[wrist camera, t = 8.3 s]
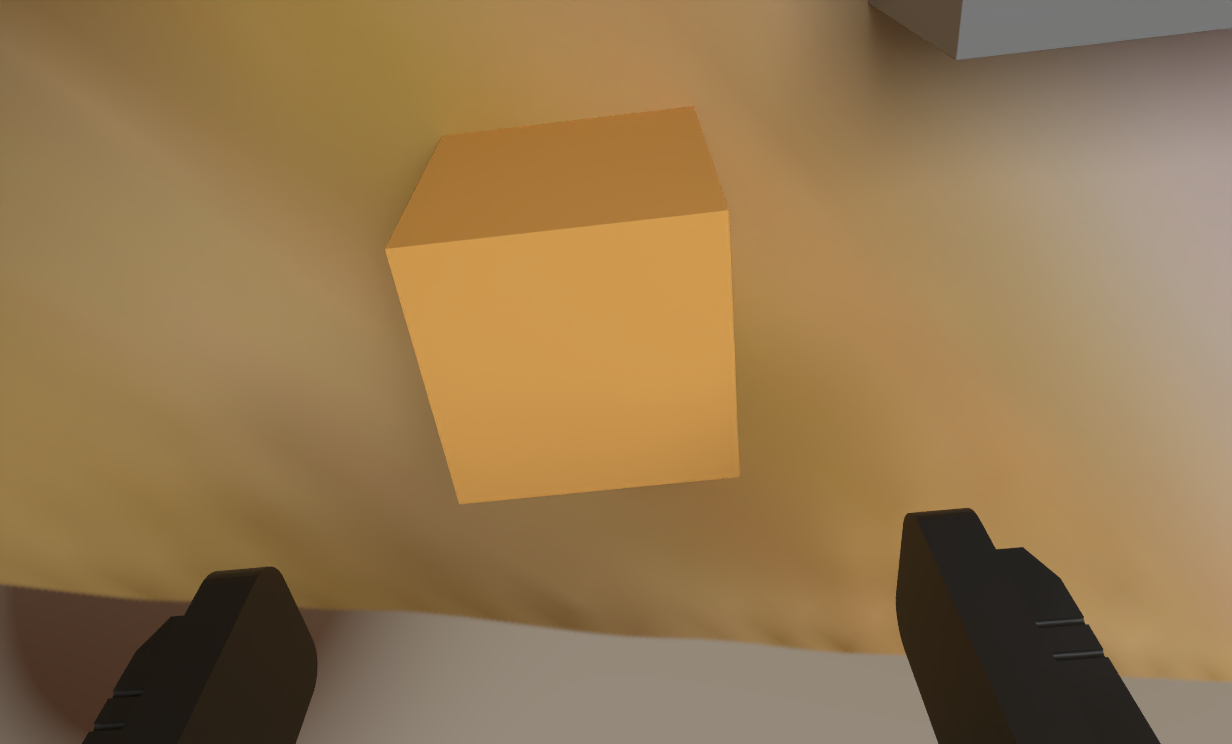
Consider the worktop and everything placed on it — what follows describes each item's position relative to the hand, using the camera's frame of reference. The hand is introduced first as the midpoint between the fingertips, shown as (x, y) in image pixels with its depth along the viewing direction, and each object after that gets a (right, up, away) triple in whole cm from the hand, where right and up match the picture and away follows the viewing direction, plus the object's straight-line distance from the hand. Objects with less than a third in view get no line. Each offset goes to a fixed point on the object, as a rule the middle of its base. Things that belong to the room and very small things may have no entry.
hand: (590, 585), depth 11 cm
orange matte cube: (0, +6, +9) cm, 11 cm away
